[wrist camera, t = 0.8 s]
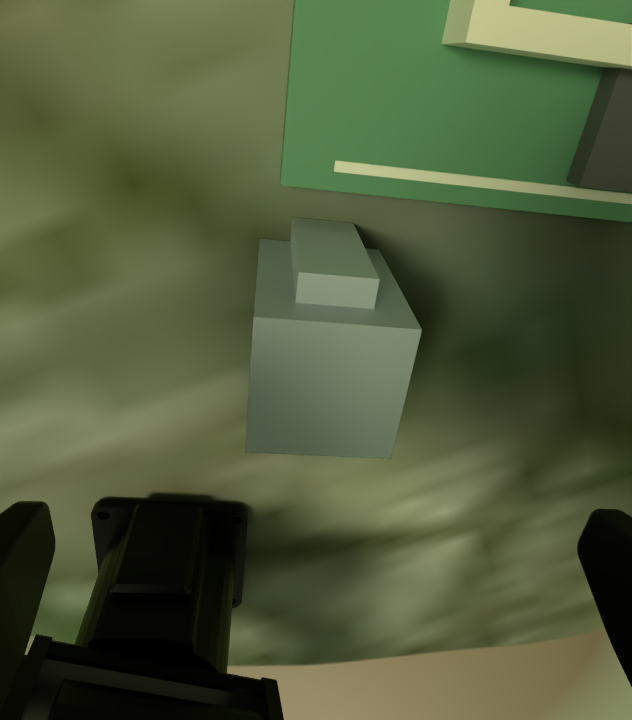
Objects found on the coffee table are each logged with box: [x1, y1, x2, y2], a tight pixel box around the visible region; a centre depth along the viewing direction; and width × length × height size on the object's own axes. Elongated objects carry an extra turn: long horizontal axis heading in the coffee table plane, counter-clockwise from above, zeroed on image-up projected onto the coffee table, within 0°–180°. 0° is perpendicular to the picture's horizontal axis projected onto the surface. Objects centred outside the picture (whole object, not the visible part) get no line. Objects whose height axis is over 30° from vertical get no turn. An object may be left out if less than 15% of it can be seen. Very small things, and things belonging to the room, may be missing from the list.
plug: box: [245, 217, 422, 459], centre depth 16 cm, size 5×4×6 cm
